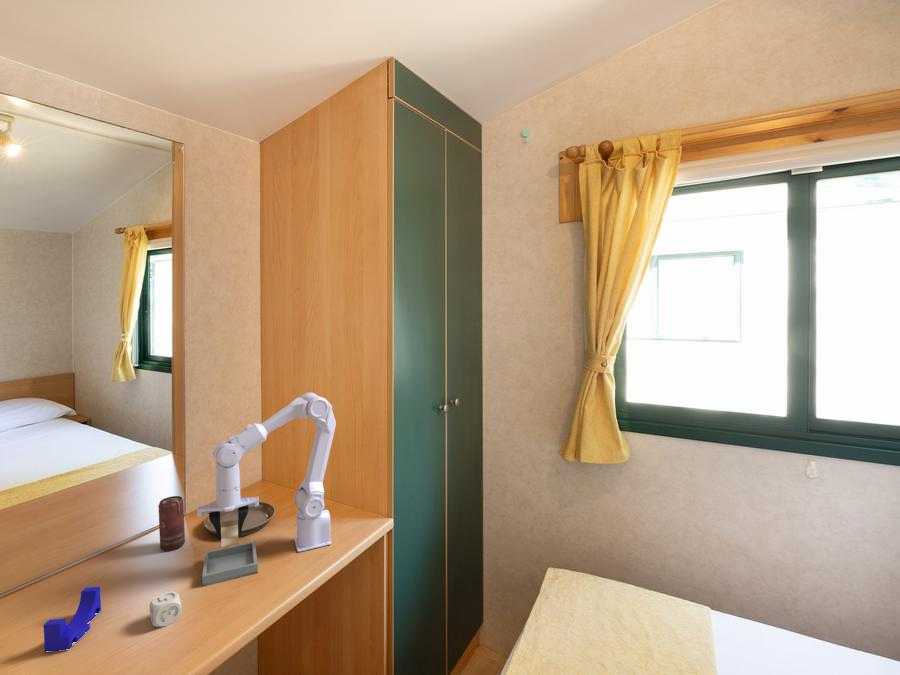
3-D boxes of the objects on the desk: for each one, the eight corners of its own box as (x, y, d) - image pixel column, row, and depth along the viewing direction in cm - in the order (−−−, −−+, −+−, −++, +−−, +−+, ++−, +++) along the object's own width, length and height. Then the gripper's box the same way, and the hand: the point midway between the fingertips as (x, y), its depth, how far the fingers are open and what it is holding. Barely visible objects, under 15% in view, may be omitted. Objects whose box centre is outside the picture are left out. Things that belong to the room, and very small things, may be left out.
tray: (255, 549, 127) (254, 541, 126) (257, 572, 115) (257, 563, 115) (205, 560, 121) (204, 552, 121) (202, 586, 110) (202, 576, 110)
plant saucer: (284, 526, 140) (284, 516, 140) (212, 549, 127) (212, 538, 127) (264, 505, 156) (263, 495, 156) (198, 523, 143) (197, 513, 143)
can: (174, 553, 125) (172, 505, 124) (155, 550, 126) (153, 503, 125) (190, 542, 131) (188, 496, 130) (172, 539, 132) (170, 494, 131)
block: (238, 536, 120) (237, 518, 120) (238, 543, 117) (237, 525, 116) (221, 539, 119) (221, 521, 118) (221, 547, 115) (220, 528, 115)
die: (149, 619, 98) (148, 598, 98) (175, 608, 102) (174, 588, 101) (155, 631, 94) (154, 608, 94) (181, 619, 98) (181, 597, 98)
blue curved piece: (69, 651, 89) (67, 623, 89) (45, 653, 88) (43, 624, 88) (108, 611, 101) (107, 586, 101) (86, 612, 100) (85, 587, 100)
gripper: (195, 497, 110) (197, 550, 111) (258, 487, 116) (260, 536, 117) (197, 487, 116) (199, 537, 117) (257, 478, 123) (258, 525, 124)
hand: (229, 536), depth 118 cm, fingers closed on block, 4 cm apart
